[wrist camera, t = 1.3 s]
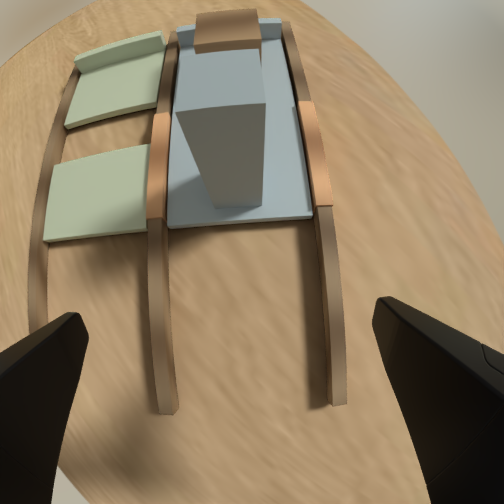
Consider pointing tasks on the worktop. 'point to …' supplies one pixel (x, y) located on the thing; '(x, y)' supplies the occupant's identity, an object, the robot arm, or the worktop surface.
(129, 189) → the broken strip
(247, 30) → the walnut cube
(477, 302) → the worktop surface
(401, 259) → the worktop surface
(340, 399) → the lane rails
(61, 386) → the robot arm
